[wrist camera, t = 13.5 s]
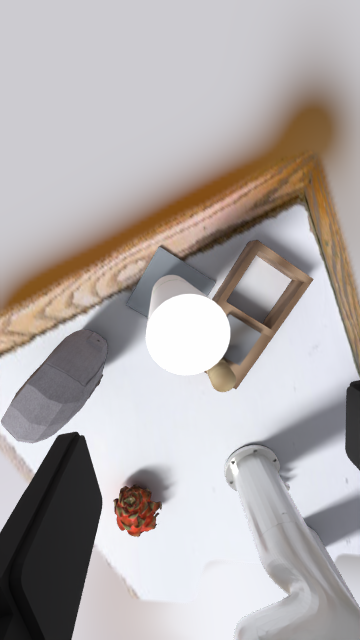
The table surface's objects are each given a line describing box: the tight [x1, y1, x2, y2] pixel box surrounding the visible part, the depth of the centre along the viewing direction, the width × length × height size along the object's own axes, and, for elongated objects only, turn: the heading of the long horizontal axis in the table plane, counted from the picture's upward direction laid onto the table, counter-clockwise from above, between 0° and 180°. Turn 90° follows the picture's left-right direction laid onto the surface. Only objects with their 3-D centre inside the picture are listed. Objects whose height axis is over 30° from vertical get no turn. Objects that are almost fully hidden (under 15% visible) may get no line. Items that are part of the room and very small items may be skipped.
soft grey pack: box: [1, 330, 108, 443], centre depth 37 cm, size 15×8×20 cm, turn 142°
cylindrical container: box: [146, 275, 230, 375], centre depth 33 cm, size 7×7×25 cm
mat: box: [126, 247, 216, 317], centre depth 45 cm, size 12×12×1 cm
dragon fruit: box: [114, 485, 162, 537], centre depth 52 cm, size 8×8×12 cm
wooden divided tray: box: [204, 240, 313, 392], centre depth 43 cm, size 12×24×10 cm, turn 149°
